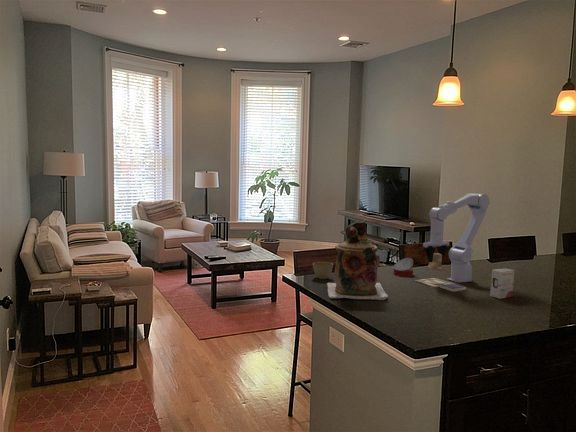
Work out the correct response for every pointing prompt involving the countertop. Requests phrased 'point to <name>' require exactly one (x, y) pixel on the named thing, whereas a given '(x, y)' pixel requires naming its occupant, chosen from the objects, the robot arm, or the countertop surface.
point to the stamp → (436, 262)
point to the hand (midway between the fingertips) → (435, 261)
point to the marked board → (433, 282)
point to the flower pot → (322, 269)
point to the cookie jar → (356, 267)
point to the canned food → (403, 267)
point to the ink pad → (452, 287)
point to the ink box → (502, 283)
